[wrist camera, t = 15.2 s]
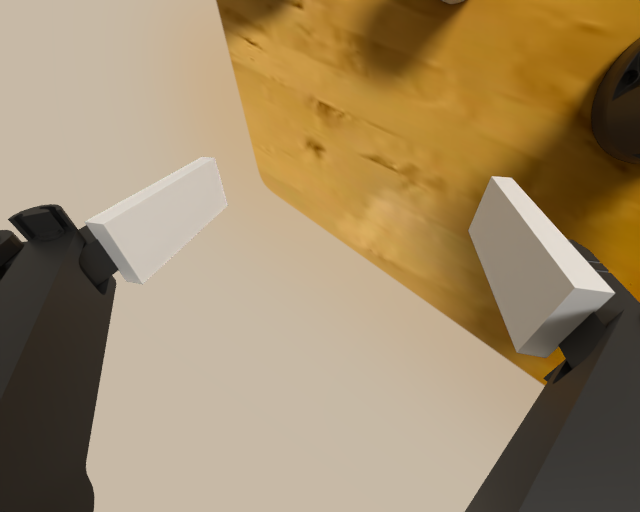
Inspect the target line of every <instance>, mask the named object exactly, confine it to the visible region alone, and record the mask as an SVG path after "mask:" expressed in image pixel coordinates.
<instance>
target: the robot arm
mask: <svg viewBox="0 0 640 512" xmlns="http://www.w3.org/2000/svg"><path fill="white" fill-rule="evenodd" d="M591 119H592V128H593V132H594V135H595V138H596V140H597V142H598V143H599V145H600V146H601V147H602V148H603V149H604V150H605V151H606V152H607V153H608V154H610V155H611V156H613V157H615V158H617V159H619V160H622V161H625V162H629V163H634V164H640V38H639V39H638V40H637V41H636V42H634V43H633V44H632V45H631V46H630V47H629V48H628V49H627V50H626V51H625V52H624V53H623V54H622V55H621V56H620V57H619V58H618V59H617V61H616V62H615V63H614V64H613V65H612V67H611V68H610V70H609V71H608V72H607V74H606V76H605V77H604V79H603V81H602V82H601V84H600V86H599V89H598V91H597V93H596V96H595V99H594V103H593V107H592V117H591ZM227 206H228V204H227V201H226V197H225V193H224V190H223V186H222V182H221V179H220V175H219V171H218V168H217V164H216V160H215V158H210V157H201V158H199V159H197V160H195V161H194V162H192V163H190V164H188V165H186V166H185V167H183V168H181V169H179V170H177V171H176V172H174V173H172V174H170V175H168V176H166V177H165V178H163V179H161V180H159V181H157V182H156V183H154V184H152V185H150V186H148V187H147V188H145V189H143V190H141V191H139V192H138V193H136V194H134V195H132V196H131V197H128V198H127V199H125V200H123V201H121V202H119V203H118V204H116V205H114V206H112V207H111V208H109V209H107V210H105V211H103V212H102V213H100V214H98V215H96V216H94V217H92V218H90V219H89V220H87V221H85V223H86V226H84V227H83V228H81V229H79V230H78V229H77V228H76V226H75V225H74V223H73V222H72V221H71V220H70V218H69V217H68V215H67V214H66V213H65V211H64V210H63V209H62V207H61V206H59V205H51V204H50V205H42V206H37V207H33V208H30V209H27V210H24V211H21V212H19V213H17V214H15V215H13V216H12V217H10V218H9V219H8V220H9V221H10V222H11V223H12V224H13V225H14V226H15V227H16V228H17V230H18V231H19V232H20V233H21V234H22V235H23V236H24V237H25V238H26V239H27V240H28V241H27V242H21V241H20V240H19V239H18V237H17V236H16V235H15V234H14V233H13V232H12V231H9V230H0V512H93V511H94V492H93V487H92V484H91V482H90V480H89V478H88V476H87V473H86V458H87V453H88V447H89V441H90V435H91V429H92V423H93V417H94V411H95V406H96V400H97V394H98V388H99V382H100V376H101V371H102V364H103V358H104V353H105V347H106V341H107V335H108V329H109V324H110V317H111V312H112V306H113V300H114V294H115V288H116V280H115V279H114V277H113V276H112V274H114V273H115V272H116V271H117V270H119V271H120V273H121V274H122V276H123V277H124V279H125V280H126V281H127V282H133V283H138V284H143V283H145V282H146V281H147V280H148V279H149V278H150V277H151V276H152V275H153V274H154V273H155V272H157V271H158V270H159V269H160V268H161V267H162V266H163V265H164V264H165V263H166V262H167V261H168V260H169V259H170V258H172V256H174V255H175V254H176V253H177V252H178V251H179V250H180V249H181V248H182V247H184V246H185V245H186V244H187V243H188V242H189V241H190V240H191V239H192V238H193V237H194V236H195V235H196V234H198V233H199V231H201V230H202V229H203V228H204V227H205V226H206V225H207V224H208V223H209V222H210V221H211V220H212V219H214V218H215V217H216V216H217V215H218V214H219V213H220V212H221V211H222V210H223V209H225V208H226V207H227ZM468 231H469V234H470V236H471V239H472V241H473V244H474V247H475V249H476V252H477V254H478V257H479V259H480V262H481V264H482V267H483V269H484V272H485V274H486V277H487V279H488V282H489V284H490V287H491V289H492V292H493V294H494V297H495V299H496V302H497V304H498V307H499V309H500V312H501V315H502V317H503V320H504V322H505V325H506V327H507V330H508V332H509V335H510V337H511V340H512V342H513V345H514V347H515V350H516V352H517V353H522V354H527V355H533V356H538V357H544V358H547V357H548V356H549V355H550V354H551V353H552V352H553V351H554V350H555V349H556V348H557V347H558V346H559V347H560V349H561V351H562V352H563V354H564V356H565V358H566V359H565V360H564V361H563V362H562V363H561V364H560V365H558V366H557V367H556V368H555V369H554V370H552V371H551V372H550V373H549V374H548V375H547V376H545V377H544V378H543V379H545V380H546V381H547V384H546V386H545V387H544V389H543V390H542V392H541V393H540V395H539V397H538V398H537V400H536V401H535V403H534V404H533V406H532V408H531V409H530V411H529V412H528V414H527V415H526V417H525V418H524V420H523V422H522V423H521V425H520V426H519V428H518V429H517V431H516V433H515V434H514V436H513V437H512V439H511V440H510V442H509V444H508V445H507V447H506V448H505V450H504V451H503V453H502V455H501V456H500V458H499V459H498V461H497V462H496V464H495V465H494V467H493V469H492V470H491V472H490V473H489V475H488V476H487V478H486V479H485V481H484V483H483V484H482V486H481V487H480V489H479V490H478V492H477V494H476V495H475V497H474V498H473V500H472V501H471V503H470V505H469V506H468V508H467V509H466V511H465V512H640V303H639V302H638V301H637V300H636V299H635V298H634V297H633V296H632V294H631V293H630V292H629V291H628V290H627V289H626V288H625V287H624V286H623V285H622V284H621V283H620V282H619V281H618V280H617V279H616V278H615V277H614V276H613V275H612V274H611V273H608V269H607V268H606V267H605V266H604V265H603V264H602V263H599V260H598V259H597V258H596V257H595V256H594V255H593V254H592V253H591V252H590V251H589V250H588V249H586V248H585V247H583V246H582V245H580V244H578V243H577V242H575V241H574V240H569V239H566V238H565V237H564V235H563V234H562V233H561V232H560V231H559V230H558V229H557V228H556V227H555V225H554V224H553V223H552V222H551V221H550V220H549V219H548V218H547V217H546V215H545V214H544V213H543V212H542V211H541V210H540V209H539V208H538V207H537V205H536V204H535V203H534V202H533V201H532V200H531V199H530V198H529V196H528V195H527V194H526V193H525V192H524V191H523V190H522V189H521V188H520V186H519V185H518V184H517V183H516V182H515V181H514V180H513V179H512V178H509V177H494V176H491V178H490V181H489V183H488V186H487V188H486V190H485V193H484V195H483V197H482V200H481V202H480V204H479V207H478V209H477V211H476V214H475V216H474V218H473V221H472V223H471V225H470V228H469V230H468Z"/></svg>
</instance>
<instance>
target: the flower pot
mask: <svg viewBox="0 0 640 512" xmlns="http://www.w3.org/2000/svg"><path fill="white" fill-rule="evenodd" d="M441 1H444V2H446V3H448V4H456V3H460V2H462V1H464V0H441Z"/></svg>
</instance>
